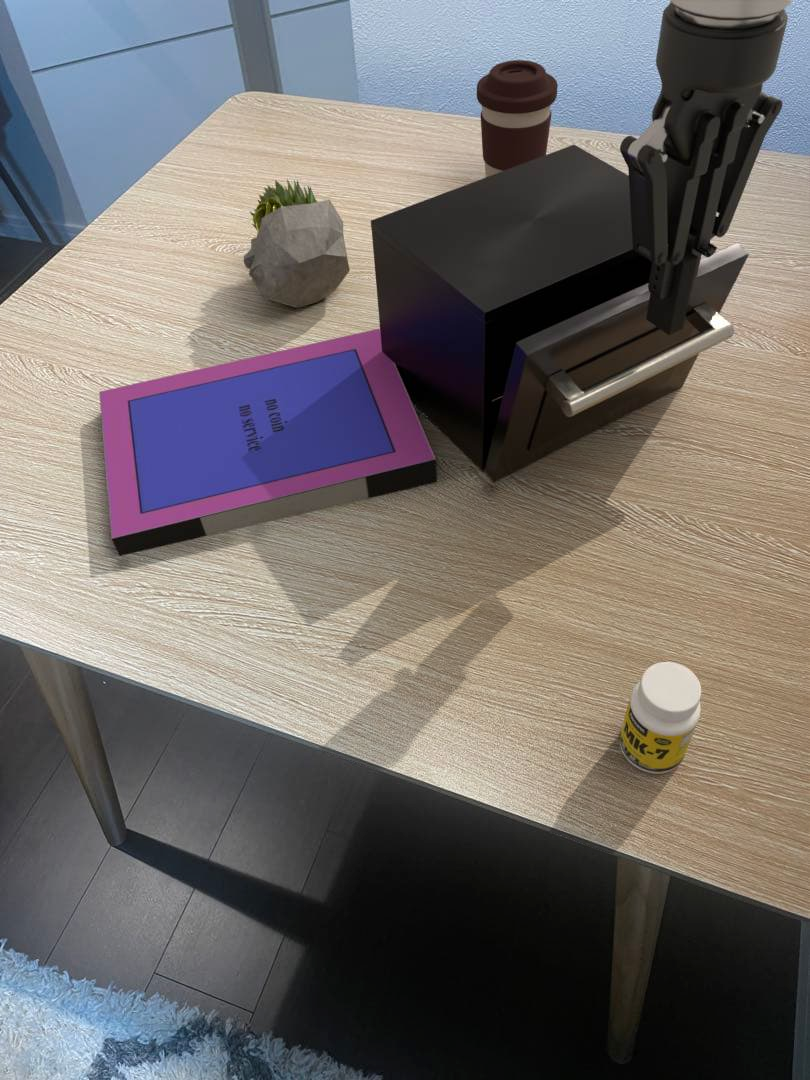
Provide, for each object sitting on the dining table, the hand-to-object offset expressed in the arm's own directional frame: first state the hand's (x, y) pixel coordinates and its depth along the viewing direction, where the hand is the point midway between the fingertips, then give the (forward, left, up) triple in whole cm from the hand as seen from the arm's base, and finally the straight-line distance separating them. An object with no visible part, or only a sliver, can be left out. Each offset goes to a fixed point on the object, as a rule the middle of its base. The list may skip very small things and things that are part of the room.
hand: (664, 323), depth 74 cm
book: (+31, +19, -17) cm, 40 cm away
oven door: (+5, -2, -17) cm, 17 cm away
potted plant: (+48, -3, -17) cm, 51 cm away
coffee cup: (+40, -37, -17) cm, 57 cm away
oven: (+16, -5, -17) cm, 24 cm away
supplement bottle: (-16, +25, -17) cm, 34 cm away
